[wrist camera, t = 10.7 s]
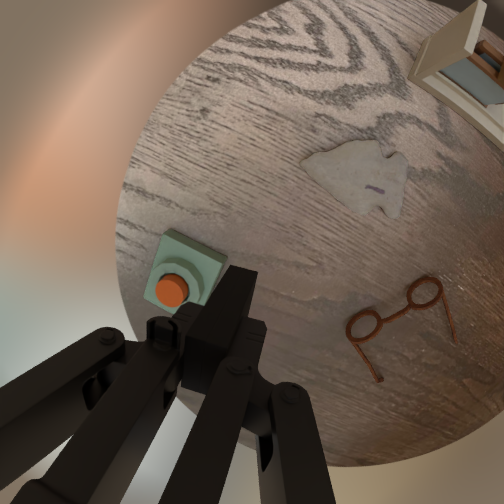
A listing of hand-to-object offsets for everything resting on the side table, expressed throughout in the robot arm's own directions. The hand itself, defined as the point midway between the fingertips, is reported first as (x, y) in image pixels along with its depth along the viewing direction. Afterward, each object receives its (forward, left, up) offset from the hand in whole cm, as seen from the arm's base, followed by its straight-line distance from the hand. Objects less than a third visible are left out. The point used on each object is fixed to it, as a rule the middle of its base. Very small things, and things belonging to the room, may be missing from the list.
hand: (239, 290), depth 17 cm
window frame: (+16, +24, -20) cm, 34 cm away
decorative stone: (+6, +8, -20) cm, 22 cm away
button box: (-7, -13, -20) cm, 24 cm away
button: (-7, -13, -16) cm, 21 cm away
